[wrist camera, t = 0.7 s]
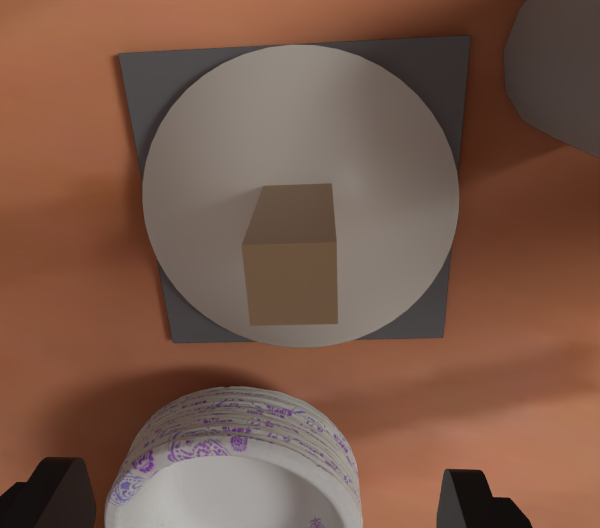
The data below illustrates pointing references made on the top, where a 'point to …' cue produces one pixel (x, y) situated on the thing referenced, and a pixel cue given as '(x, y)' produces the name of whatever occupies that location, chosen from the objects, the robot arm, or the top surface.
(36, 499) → the robot arm
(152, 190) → the lid
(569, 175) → the top surface
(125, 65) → the mat
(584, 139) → the cup
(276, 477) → the paper bowls
